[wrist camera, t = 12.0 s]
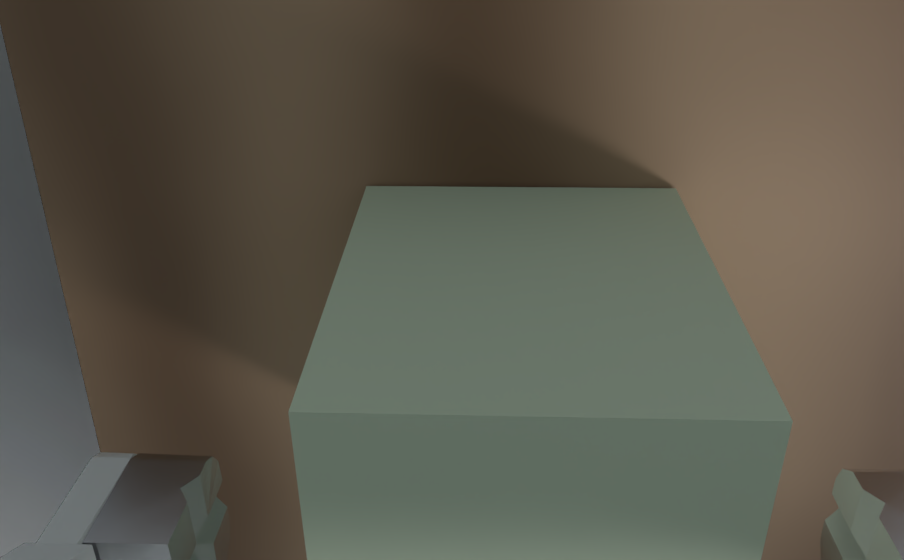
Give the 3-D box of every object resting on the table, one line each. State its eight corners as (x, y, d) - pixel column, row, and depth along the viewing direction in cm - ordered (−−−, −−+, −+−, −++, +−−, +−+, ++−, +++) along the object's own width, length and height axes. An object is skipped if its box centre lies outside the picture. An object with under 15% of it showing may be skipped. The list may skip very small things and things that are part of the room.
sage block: (675, 188, 14) (793, 421, 8) (644, 433, 16) (720, 736, 11) (366, 186, 14) (288, 412, 8) (381, 428, 16) (328, 723, 11)
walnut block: (928, -130, 17) (1132, -112, 11) (786, 434, 23) (873, 612, 18) (127, -143, 17) (-36, -131, 12) (211, 413, 24) (130, 581, 18)
